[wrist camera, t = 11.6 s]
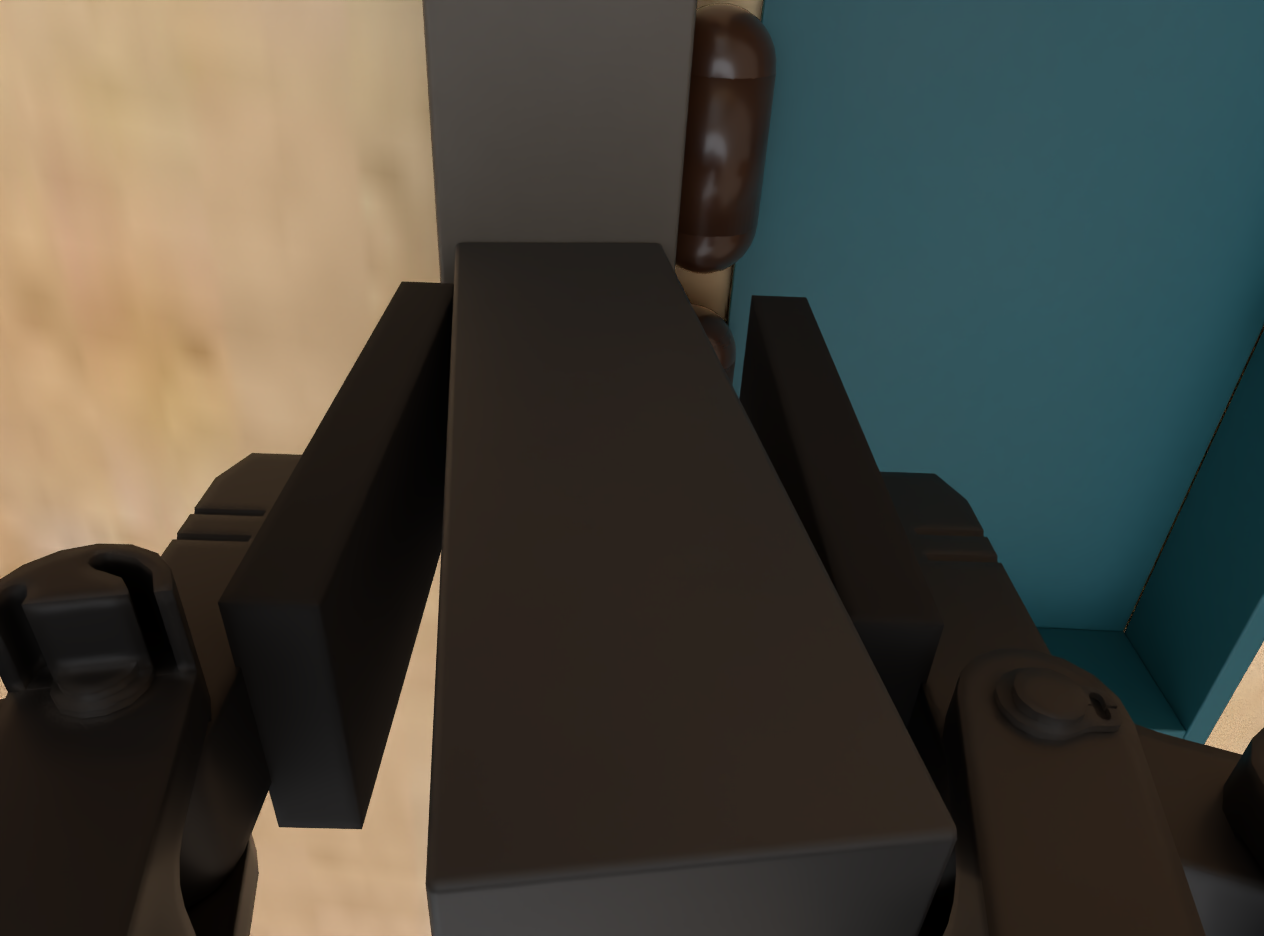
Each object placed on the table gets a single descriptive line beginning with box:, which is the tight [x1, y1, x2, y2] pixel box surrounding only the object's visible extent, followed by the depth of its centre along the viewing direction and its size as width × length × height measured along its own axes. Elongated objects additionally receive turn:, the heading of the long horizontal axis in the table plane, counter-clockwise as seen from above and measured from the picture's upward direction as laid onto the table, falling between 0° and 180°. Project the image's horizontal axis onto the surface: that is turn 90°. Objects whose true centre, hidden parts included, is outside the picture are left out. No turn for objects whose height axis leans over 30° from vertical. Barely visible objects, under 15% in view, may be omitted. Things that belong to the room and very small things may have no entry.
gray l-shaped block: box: [423, 0, 957, 936], centre depth 11 cm, size 4×12×13 cm, turn 177°
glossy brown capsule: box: [675, 4, 776, 274], centre depth 15 cm, size 2×4×2 cm
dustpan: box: [727, 0, 1264, 744], centre depth 16 cm, size 17×17×3 cm
